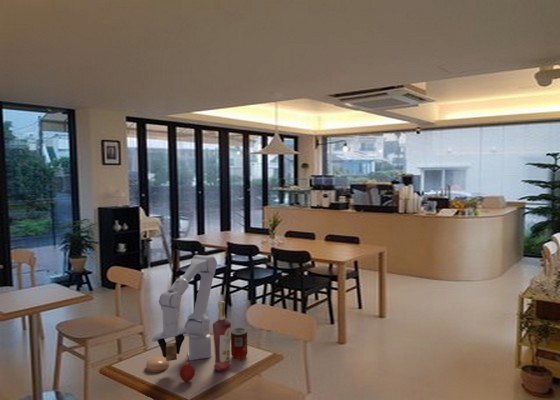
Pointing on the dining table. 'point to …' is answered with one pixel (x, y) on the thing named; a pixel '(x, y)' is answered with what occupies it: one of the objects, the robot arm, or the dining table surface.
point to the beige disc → (157, 364)
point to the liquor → (222, 340)
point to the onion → (187, 372)
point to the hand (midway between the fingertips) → (171, 354)
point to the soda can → (239, 343)
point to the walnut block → (171, 352)
